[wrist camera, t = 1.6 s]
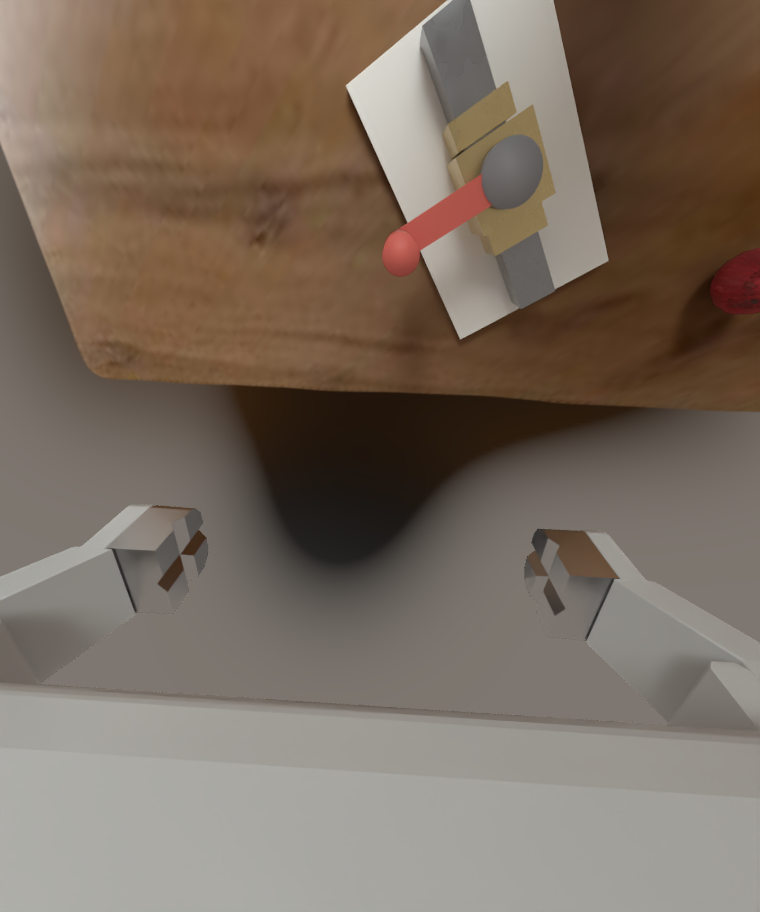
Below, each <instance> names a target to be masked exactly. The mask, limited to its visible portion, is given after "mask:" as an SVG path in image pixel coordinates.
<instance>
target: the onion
mask: <svg viewBox="0 0 760 912" xmlns="http://www.w3.org/2000/svg"><path fill="white" fill-rule="evenodd" d="M709 292H710V295H711V298H712V301H713V304H714V305H715V306H717V307H718V308H720V309H721V310H723V311H724V312H726V313H729V314H753V313H757V312H760V248H756V249H753V250H749V251H746V252H743V253H741V254H739V255H738V256H736V257H734V258H732V259H731V260H729V261H727V262H726V263H725V264H724V265H723V266H722V267H721V268H720V269H719V270H718V272H717V273H716V275H715V277H714V278H713V280H712V283H711V287H710V291H709Z"/></svg>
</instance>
